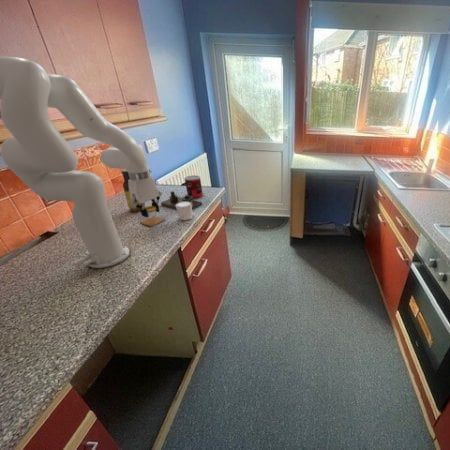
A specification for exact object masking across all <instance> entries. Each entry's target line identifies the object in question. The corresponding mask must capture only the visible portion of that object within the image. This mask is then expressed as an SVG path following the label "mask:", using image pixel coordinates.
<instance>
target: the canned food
mask: <svg viewBox="0 0 450 450" xmlns="http://www.w3.org/2000/svg"><path fill="white" fill-rule="evenodd" d="M184 184H185V188H186V193H187V195H189V196H192V197H193V199H199V198H201V197H203V193H204V192H203V186H202V181H201V176H199V175H196V174H195V175H188V176H185V177H184Z"/></svg>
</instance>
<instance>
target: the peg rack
mask: <svg viewBox="0 0 450 450" xmlns="http://www.w3.org/2000/svg"><path fill="white" fill-rule="evenodd" d="M169 193H170V196H169V197H168V198H169V199H166V200H163V201H162V202H160V205H161V206H163V207H167V208H170V209H175V210H177V209H176V206H175V205H176V204H177V203H179V202H185V201H182V197H181V196H178V195H177V194H175V191H174V190H171V191H170V192H169ZM184 197H185V198H186V199H189V195H188V194H184ZM187 202H191V205H192V211H193V210H194V209H197V208H198V207H200V206H202V205H203V202H202V201H198V200H194V199H193V200H191V201H187Z"/></svg>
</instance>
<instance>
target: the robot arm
mask: <svg viewBox="0 0 450 450" xmlns="http://www.w3.org/2000/svg"><path fill="white" fill-rule="evenodd" d="M0 101H1V102H0V117H1V121H2V123H3V124H4V126H5V128H6V129H7V130H8V132H9V133H10V134H11V136H12V137H9V138H7V139H5V140H4V141H3V142H2V143H1V145H0V155H1V159H2V161H3V162H4V164H5V165H6V166H7V168H8V169H9V170H10V171H11V172H13V174H15V175H16V176H17V177H18V179H20V180H21V182H23V183H24V184H25V185H26V186H27V187H28V188H29V189H30V190H31V191H32V192H33V193H34V194H35V195H37V196H38V197H40V198H42V199H44V200H48V201H53V202H70V203H73V208H72V213H71V214H72V220H73V222H74V224H75V226H76V229H77V230H78V232H79V234H80V237H81V239H82V242H83V244H84V246H85V248H86V251H85V252H84V255H83V256H82V257H81V258H79V259H77V260H75V261H73V262H72V264H73V266H74V267H76V268H78V267H80V266H81V265H83V266H84V267H87V266H88V267H90V268H93V269H94V268H95V269H103V268H109V267H112V266H115V265H117V264H120V263H122V262H123V261H125V260H126V259H127V258H128V257H129V256H130V253H131V251H130V249H129V247H128V246H125V245H123V244H122V241H121V238H120V235H119V232H118V230H117V227H116V225H115V221H114V219H113V216H112V214H111V211H110V208H109V205H108V201H107V197H106V189H105V184H104V181H103V179H102V178H101V177H100V176H99V175H97V174H96V173H94V172H91V171H87V170H76V169H77V167H78V166H79V159H78V157H77V154H76V152H75V151H74V150H73V148H72V147H71V146H70V144H69V143H68V142H67V140H66V139H65V137H64V136H63V135H62V134H61V132H60V131H59V129H58V128H57V127H56V125H55V124H54V123H53V121H52V120H51V117H50V116H49V110H48V108H52V109H56V110H57V111H58V112H60V114H61V115H62V116H64V118H65V119H66V120H67V121H68V122H69V123H70V124H71V126H73V128H75V129H76V130H77V132H78V133H79V134H81V135H82V136H85V137H86V138H89V139H91V140H94V141H97V142H101V143H103V144H106V145H109V146H111V147H108V148H105V149H104V150H103V151H102V152H101V153H100V161H101V163H102V164H103V165H104V166H105V167H107V168H109V169H115V170H116V169H119V170H127V171H128V174H129V177H130V180H128V185H129V191H130V196H131V199H132V200H131V203H130V205H131V206H134V207H137V208H139V209H140V211H139V212H140V214H141V216H142V217H145V218H149V213H147V209H145V207H146V205H145V204H146V203H147V202H149V201H151V206H156V211H155V213H159V212H160V207H159V203H160V202H159V201H160V198H161V197H162V196H163V192H161V191H160V190H158V187H157V183H156V182H155V180H154V177H153V176H152V175H151V173H152V169H151V168H149V165H148V161H147V157H146V154H145V150H144V148H143V146H142V145H141V144H139V143H138V141H136V139H135V138H134V137H133V136H131V135H130V134H128V132H126V131H124V130H122V129H121V128H119V127H118V126H116V125H115V124H113V123H111V122H109V121H108V120H106V119H105V117H104V116H103V115H102V113H101V112H100V110H98V108H97V107H96V106H95V105H94V103H93V102H92V100H91V99H90V98H89V97H88V95H87V94H86V93H85V92H84V91H83V89H82V88H81V87H80V85H79V84H78V83H77V82H76V81H75V80H73V79H72V78H70V77H68V76H65V75H62V74H55V73H54V74H52V73H47V71H46V70H45V68H44V67H42V65H40V64H39V63H37V62H35V61H33V60H30V59H28V58H23V57H16V56H0ZM137 201H138V205H137V204H136V202H137Z"/></svg>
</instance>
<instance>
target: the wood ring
mask: <svg viewBox="0 0 450 450" xmlns="http://www.w3.org/2000/svg"><path fill="white" fill-rule="evenodd" d="M181 198H182V201H186V202H187V201H191V200H194V198H193V197H192V196H189V199H186V198H185V196H183V197H181Z"/></svg>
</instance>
